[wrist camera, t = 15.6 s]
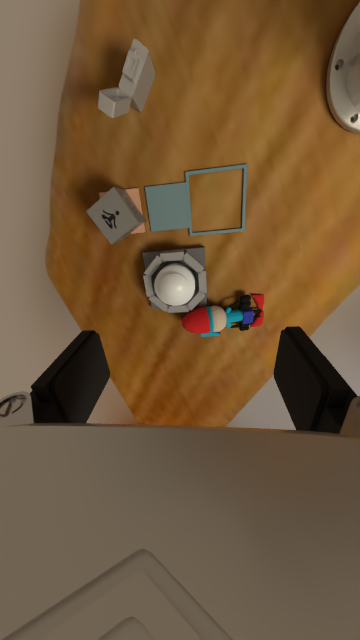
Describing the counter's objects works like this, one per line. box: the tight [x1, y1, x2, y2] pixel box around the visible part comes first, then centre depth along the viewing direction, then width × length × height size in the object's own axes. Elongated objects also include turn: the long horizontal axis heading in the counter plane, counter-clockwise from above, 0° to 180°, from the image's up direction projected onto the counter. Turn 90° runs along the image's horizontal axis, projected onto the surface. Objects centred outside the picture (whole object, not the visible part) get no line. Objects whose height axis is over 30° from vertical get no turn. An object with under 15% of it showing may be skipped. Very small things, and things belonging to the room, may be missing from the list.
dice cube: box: [86, 187, 146, 244], centre depth 31 cm, size 5×5×5 cm
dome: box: [154, 262, 195, 306], centre depth 34 cm, size 6×6×4 cm
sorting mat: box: [99, 164, 247, 236], centre depth 32 cm, size 21×8×1 cm, turn 96°
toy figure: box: [182, 294, 264, 337], centre depth 38 cm, size 8×5×15 cm
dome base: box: [143, 247, 207, 313], centre depth 36 cm, size 10×10×3 cm
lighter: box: [98, 39, 155, 118], centre depth 23 cm, size 7×2×8 cm, turn 149°
